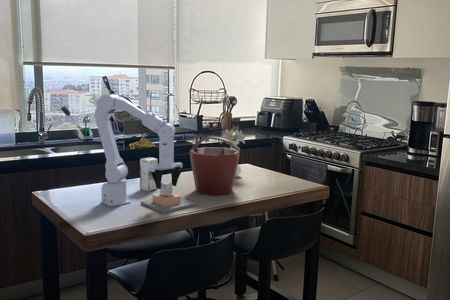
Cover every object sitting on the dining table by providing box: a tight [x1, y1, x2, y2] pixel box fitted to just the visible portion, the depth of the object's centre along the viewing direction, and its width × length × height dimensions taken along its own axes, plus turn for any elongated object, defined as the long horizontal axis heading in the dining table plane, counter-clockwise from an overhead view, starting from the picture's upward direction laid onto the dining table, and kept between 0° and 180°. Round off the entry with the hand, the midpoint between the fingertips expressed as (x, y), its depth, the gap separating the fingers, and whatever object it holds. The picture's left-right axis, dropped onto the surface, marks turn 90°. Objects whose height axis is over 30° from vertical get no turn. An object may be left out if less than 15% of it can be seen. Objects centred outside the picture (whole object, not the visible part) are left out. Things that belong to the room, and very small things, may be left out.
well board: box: [140, 192, 197, 214], centre depth 182 cm, size 16×16×4 cm
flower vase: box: [220, 128, 246, 178], centre depth 236 cm, size 13×18×25 cm
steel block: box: [159, 181, 173, 198], centre depth 181 cm, size 3×4×8 cm
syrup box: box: [139, 157, 159, 192], centre depth 205 cm, size 6×6×14 cm
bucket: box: [189, 136, 241, 197], centre depth 203 cm, size 24×22×25 cm
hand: (166, 187), depth 180 cm, fingers open, 7 cm apart
